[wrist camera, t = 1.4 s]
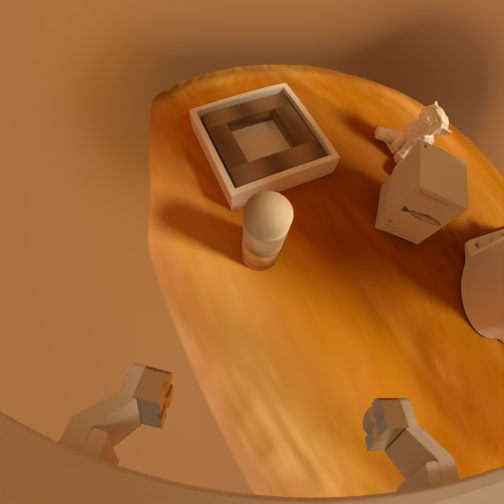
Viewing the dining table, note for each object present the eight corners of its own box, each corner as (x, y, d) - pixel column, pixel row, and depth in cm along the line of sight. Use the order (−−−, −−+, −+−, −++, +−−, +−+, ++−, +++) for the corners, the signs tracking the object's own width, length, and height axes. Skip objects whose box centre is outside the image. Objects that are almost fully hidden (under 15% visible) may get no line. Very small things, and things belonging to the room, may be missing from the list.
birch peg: (267, 231, 40) (279, 184, 29) (283, 262, 39) (302, 224, 28) (235, 245, 39) (235, 200, 28) (250, 276, 38) (256, 243, 27)
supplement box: (373, 229, 41) (417, 184, 29) (380, 186, 43) (418, 135, 31) (417, 247, 41) (469, 210, 29) (421, 203, 43) (466, 160, 31)
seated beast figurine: (370, 132, 47) (397, 82, 35) (409, 130, 48) (439, 85, 36) (394, 181, 44) (431, 135, 33) (433, 175, 45) (471, 134, 34)
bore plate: (280, 103, 46) (281, 92, 44) (321, 165, 43) (326, 155, 40) (202, 126, 44) (200, 115, 42) (236, 196, 41) (237, 186, 38)
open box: (282, 100, 48) (285, 82, 44) (332, 172, 43) (340, 157, 40) (191, 127, 45) (189, 109, 41) (231, 210, 41) (231, 196, 37)
